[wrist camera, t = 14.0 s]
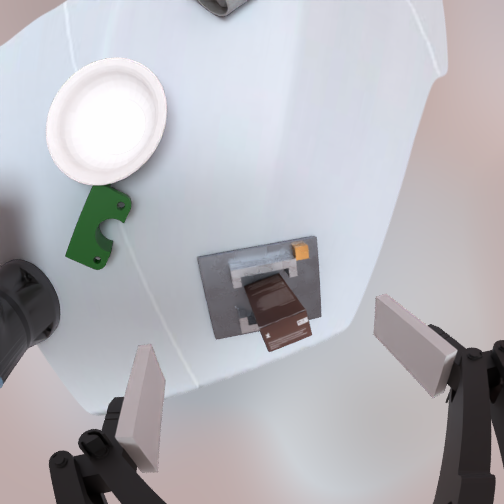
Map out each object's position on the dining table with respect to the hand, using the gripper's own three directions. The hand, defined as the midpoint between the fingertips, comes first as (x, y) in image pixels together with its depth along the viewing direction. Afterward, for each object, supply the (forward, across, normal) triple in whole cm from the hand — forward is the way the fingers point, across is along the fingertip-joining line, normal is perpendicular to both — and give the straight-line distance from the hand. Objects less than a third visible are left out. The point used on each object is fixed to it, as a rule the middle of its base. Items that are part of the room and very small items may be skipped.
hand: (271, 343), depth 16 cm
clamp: (+29, -18, +5) cm, 34 cm away
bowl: (+29, -13, +18) cm, 36 cm away
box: (+28, +4, -10) cm, 30 cm away
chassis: (+29, +4, -10) cm, 31 cm away
